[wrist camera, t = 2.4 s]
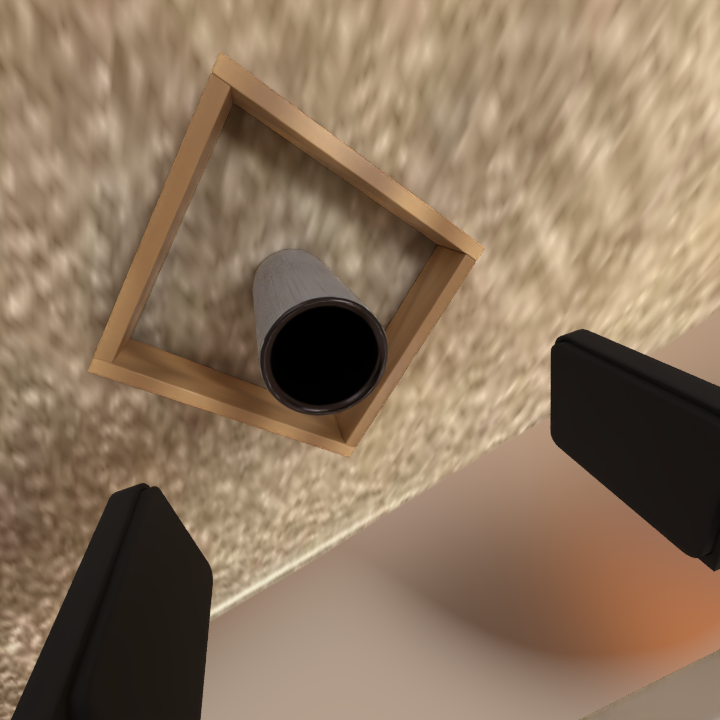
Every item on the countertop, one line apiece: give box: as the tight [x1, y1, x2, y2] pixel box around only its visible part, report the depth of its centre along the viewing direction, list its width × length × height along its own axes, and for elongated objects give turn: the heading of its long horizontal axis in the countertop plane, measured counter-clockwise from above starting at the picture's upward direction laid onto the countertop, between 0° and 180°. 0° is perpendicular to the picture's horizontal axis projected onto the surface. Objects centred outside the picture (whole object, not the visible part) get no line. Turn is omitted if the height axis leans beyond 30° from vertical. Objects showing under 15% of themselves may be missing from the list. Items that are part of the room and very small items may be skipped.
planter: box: [253, 249, 388, 416], centre depth 18 cm, size 4×4×10 cm
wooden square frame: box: [88, 52, 485, 457], centre depth 21 cm, size 15×15×4 cm
